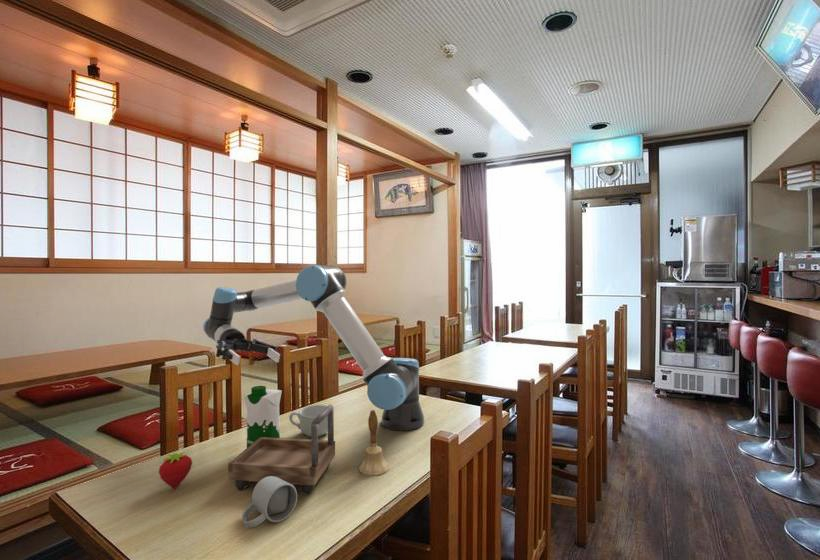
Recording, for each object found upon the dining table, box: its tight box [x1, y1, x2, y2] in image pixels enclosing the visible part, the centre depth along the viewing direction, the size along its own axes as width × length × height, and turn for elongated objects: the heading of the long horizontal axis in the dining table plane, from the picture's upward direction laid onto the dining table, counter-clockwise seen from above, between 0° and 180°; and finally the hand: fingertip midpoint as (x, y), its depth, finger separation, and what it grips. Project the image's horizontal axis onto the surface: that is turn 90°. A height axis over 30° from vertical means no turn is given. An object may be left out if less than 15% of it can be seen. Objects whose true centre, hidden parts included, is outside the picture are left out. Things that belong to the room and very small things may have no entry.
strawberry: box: [158, 449, 193, 489], centre depth 101 cm, size 6×8×10 cm
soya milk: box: [243, 385, 282, 448], centre depth 121 cm, size 9×9×20 cm
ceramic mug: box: [241, 476, 298, 528], centre depth 89 cm, size 11×8×8 cm
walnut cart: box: [227, 404, 336, 495], centre depth 106 cm, size 22×16×18 cm
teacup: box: [288, 404, 328, 438], centre depth 135 cm, size 14×11×8 cm
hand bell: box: [358, 409, 390, 477], centre depth 111 cm, size 8×8×16 cm
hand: (259, 359), depth 128 cm, fingers open, 13 cm apart
